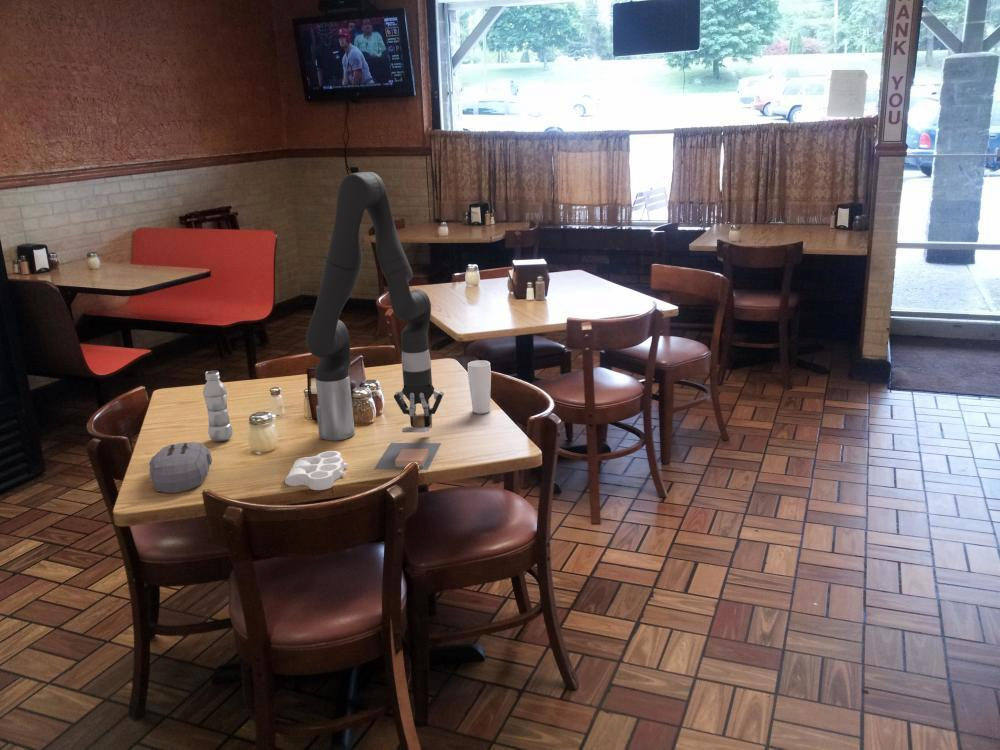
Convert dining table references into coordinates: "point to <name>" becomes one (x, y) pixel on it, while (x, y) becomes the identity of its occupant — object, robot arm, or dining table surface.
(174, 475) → the grey rounded bag
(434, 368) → the dining table surface
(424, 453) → the tile
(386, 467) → the mat
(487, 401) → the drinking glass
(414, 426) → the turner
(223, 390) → the plastic bottle
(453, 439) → the dining table surface
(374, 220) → the robot arm
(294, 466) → the white compartment holder
